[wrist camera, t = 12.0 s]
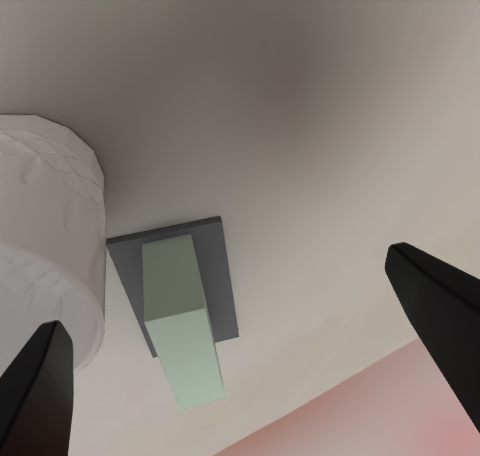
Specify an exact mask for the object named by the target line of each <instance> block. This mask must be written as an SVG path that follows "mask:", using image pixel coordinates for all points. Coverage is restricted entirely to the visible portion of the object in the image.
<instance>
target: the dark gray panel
mask: <svg viewBox="0 0 480 456" xmlns="http://www.w3.org/2000/svg"><path fill="white" fill-rule="evenodd" d="M187 234H191V236H192V241H193V245H194V250H195V254H196V259H197V263H198V268H199V272H200V277H201V281H202V286H203V290H204V295H205V299H206V304H207V308H208V313H209V317H210V322H211V326H212V332H213V337H214V342H215V343H216V342H220V341H224V340H228V339H232V338H236V337H239V334H238V327H237V321H236V314H235V307H234V301H233V294H232V287H231V280H230V274H229V267H228V260H227V254H226V247H225V240H224V234H223V227H222V221H221V217H216V218H211V219H206V220H201V221H196V222H191V223H186V224H181V225H176V226H171V227H166V228H162V229H157V230H152V231H147V232H142V233H137V234H132V235H127V236H122V237H117V238H112V239H108V240H107V242H106V246H107V248H108V250H109V253H110V255H111V258H112V260H113V262H114V265H115V267H116V270H117V272H118V274H119V277H120V279H121V282H122V284H123V286H124V289H125V291H126V294H127V296H128V299H129V301H130V303H131V306H132V308H133V311H134V313H135V315H136V318H137V320H138V323H139V325H140V327H141V330H142V332H143V335H144V337H145V339H146V342H147V344H148V347H149V349H150V351H151V354H152V356H153V358H154V357H158V355H157V353H156V350H155V348H154V345H153V343H152V340H151V338H150V335H149V333H148V330H147V328H146V325H145V323H144V294H143V256H142V244H144V243H149V242H154V241H158V240H163V239H168V238H173V237H178V236H182V235H187Z"/></svg>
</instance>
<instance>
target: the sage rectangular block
mask: <svg viewBox="0 0 480 456" xmlns="http://www.w3.org/2000/svg"><path fill="white" fill-rule="evenodd" d="M142 256H143V294H144V323H145V325H146V328H147V330H148V333H149V335H150V338H151V340H152V343H153V345H154V348H155V350H156V353H157V355H158V358H159V360H160V363H161V365H162V368H163V370H164V373H165V375H166V378H167V380H168V383H169V385H170V388H171V390H172V393H173V395H174V398H175V400H176V402H177V405H178V407H179V410H180V409H184V408H187V407H191V406H195V405H199V404H203V403H207V402H210V401H214V400H218V399H222V398H226V397H225V392H224V387H223V382H222V377H221V372H220V367H219V362H218V357H217V352H216V347H215V342H214V337H213V332H212V326H211V322H210V317H209V313H208V308H207V304H206V299H205V295H204V290H203V286H202V281H201V277H200V272H199V268H198V263H197V259H196V254H195V250H194V245H193V241H192V236H191V234H187V235H182V236H178V237H173V238H168V239H163V240H158V241H154V242H149V243H144V244H142Z"/></svg>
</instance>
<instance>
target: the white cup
mask: <svg viewBox="0 0 480 456" xmlns="http://www.w3.org/2000/svg"><path fill="white" fill-rule="evenodd" d="M103 193H104V174H103V172H102V170H101V167H100V165H99V163H98V160H97V158H96V156H95V153H94V151H93V150H92V149H91V148H90V147H89V146H88V145H87V144H86V143H85V142H84V141H83V140H81V139H80V138H79V137H78V136H77V135H76V134H75V133H74V132H73V131H72V130H70V129H69V128H67V127H65V126H62V125H60V124H57V123H55V122H52V121H49V120H47V119H44V118H42V117H39V116H37V115H0V377H1V375H2V374H3V373H4V371H5V370H6V369H7V367H8V366H9V365H10V364H11V362H12V361H13V360H14V358H15V357H16V356H17V354H18V353H19V352H20V350H21V349H22V348H23V346H24V345H25V344H26V343H27V341H28V340H29V339H30V337H31V336H32V335H33V333H34V332H35V331H36V329H37V328H38V327H39V326H40V325H41V324H42V323H45V322H49V321H53V320H59V321H61V323H62V324H63V326H64V327H65V329H66V330H67V332H68V334H69V335H70V337H71V339H72V342H73V376H75V375H76V374H78V373H79V372H80V371H82V370H83V369H84V368H85V367H86V366H87V365H88V364H89V363H90V362H91V361H92V360H93V358H94V357H95V356H96V354H97V353H98V351H99V349H100V347H101V344H102V342H103V338H104V332H105V284H106V216H105V215H106V213H105V206H104V201H103Z"/></svg>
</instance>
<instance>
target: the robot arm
mask: <svg viewBox="0 0 480 456" xmlns="http://www.w3.org/2000/svg"><path fill="white" fill-rule="evenodd" d="M385 271H386V274H387V276H388V278H389V280H390V283H391V285H392V287H393V289H394V291H395V293H396V295H397V297H398V299H399V301H400V303H401V305H402V307H403V309H404V312H405V314H406V315H407V317H408V319H409V321H410V323H411V324H412V326H413V328H414V329H415V331H416V332H417V334H418V336H419V337H420V339H421V340H422V342H423V344H424V345H425V347H426V348H427V350H428V352H429V353H430V355H431V356H432V358H433V360H434V361H435V363H436V364H437V366H438V368H439V369H440V371H441V372H442V374H443V376H444V377H445V379H446V380H447V382H448V384H449V385H450V387H451V388H452V390H453V391H454V393H455V395H456V396H457V398H458V400H459V401H460V403H461V404H462V406H463V408H464V409H465V411H466V412H467V414H468V416H469V417H470V419H471V420H472V422H473V423H474V425H475V427H476V428H477V430H478V432H479V433H480V279H478V278H476V277H474V276H472V275H470V274H468V273H466V272H464V271H462V270H460V269H458V268H456V267H454V266H452V265H450V264H448V263H446V262H444V261H442V260H440V259H438V258H436V257H434V256H432V255H430V254H428V253H426V252H424V251H422V250H420V249H418V248H416V247H414V246H412V245H410V244H408V243H405V242H401V243H396V244H392V245H390V247H389V248H388V253H387V257H386V262H385ZM73 396H74V387H73V342H72V339H71V337H70V335H69V334H68V332H67V330H66V329H65V327H64V326H63V324H62V323H61V321H59V320H53V321H49V322H45V323H42V324H41V325H40V326H39V327H38V328H37V329H36V331H35V332H34V333H33V335H32V336H31V337H30V339H29V340H28V341H27V343H26V344H25V345H24V346H23V348H22V349H21V350H20V352H19V353H18V354H17V356H16V357H15V358H14V360H13V361H12V362H11V364H10V365H9V366H8V367H7V369H6V370H5V371H4V373H3V374H2V375H1V377H0V456H68V449H69V440H70V431H71V422H72V413H73Z"/></svg>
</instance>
